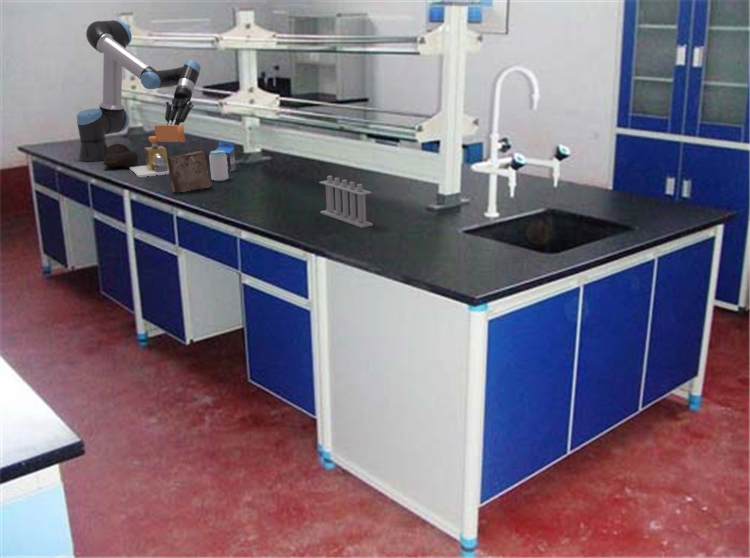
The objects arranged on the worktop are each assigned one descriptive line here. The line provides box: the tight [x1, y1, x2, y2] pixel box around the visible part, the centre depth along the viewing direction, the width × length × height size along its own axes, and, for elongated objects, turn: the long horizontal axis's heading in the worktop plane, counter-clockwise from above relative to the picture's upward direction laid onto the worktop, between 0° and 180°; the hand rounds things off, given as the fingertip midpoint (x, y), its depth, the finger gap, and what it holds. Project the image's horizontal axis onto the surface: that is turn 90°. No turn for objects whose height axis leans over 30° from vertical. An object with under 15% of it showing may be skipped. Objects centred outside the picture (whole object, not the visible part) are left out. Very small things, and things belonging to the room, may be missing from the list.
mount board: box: [129, 164, 170, 178], centre depth 346 cm, size 22×21×1 cm
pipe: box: [102, 143, 139, 168], centre depth 356 cm, size 10×15×15 cm
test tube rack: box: [318, 175, 374, 229], centre depth 256 cm, size 25×4×13 cm, turn 36°
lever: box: [148, 124, 186, 143], centre depth 340 cm, size 17×4×7 cm, turn 76°
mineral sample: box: [167, 149, 213, 194], centre depth 304 cm, size 17×4×15 cm, turn 126°
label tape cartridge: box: [215, 141, 237, 173], centre depth 341 cm, size 9×4×12 cm, turn 62°
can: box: [208, 149, 229, 182], centre depth 322 cm, size 7×7×12 cm
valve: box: [143, 142, 168, 172], centre depth 345 cm, size 20×8×12 cm, turn 27°
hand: (169, 134), depth 343 cm, fingers closed
